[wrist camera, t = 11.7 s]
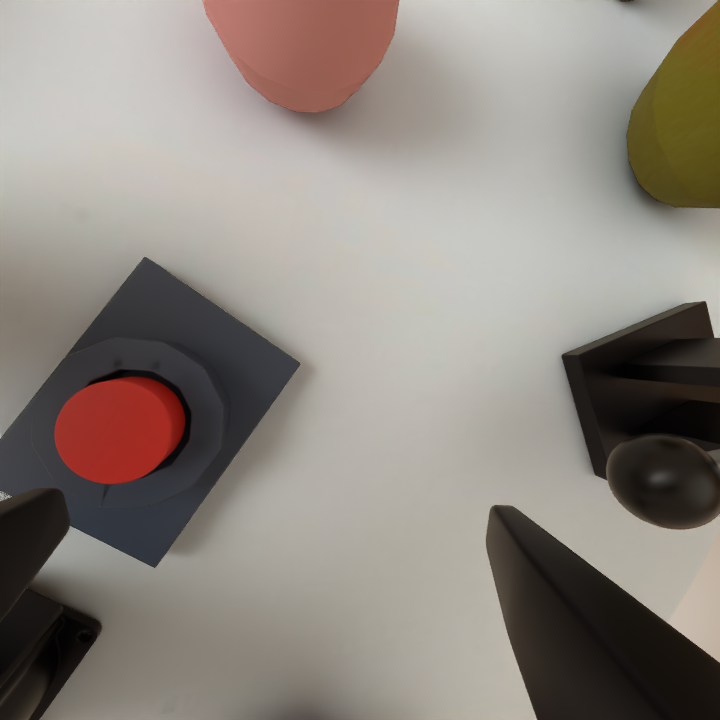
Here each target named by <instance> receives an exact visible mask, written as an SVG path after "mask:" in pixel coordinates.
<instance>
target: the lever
mask: <svg viewBox="0 0 720 720" xmlns="http://www.w3.org/2000/svg"><path fill="white" fill-rule="evenodd" d="M606 475H607V481H608V484H609V487H610V489H611V491H612V493H613V494H614V496H615V497H616V499H617V500H618V501H619V503H620V504H621V505H622V506H623V507H624V508H625V509H627V510H628V511H629V512H630V513H632V514H633V515H635V516H636V517H638V518H639V519H641V520H643V521H645V522H648V523H650V524H653V525H656V526H659V527H663V528H668V529H691V528H696V527H699V526H702V525H705V524H707V523H709V522H710V521H712V520H713V519H715V518H716V517H717V516H718V515H719V514H720V449H718V450H713V451H707V452H705V451H704V450H703V449H701V448H700V447H699V446H697V445H695V444H693V443H692V442H690V441H688V440H685V439H683V438H680V437H677V436H673V435H669V434H663V433H646V434H639V435H635V436H632V437H630V438H628V439H626V440H624V441H622V442H621V443H620V444H618V445H617V446H616V447H615V448H614V450H613V451H612V452H611V454H610V456H609V458H608V461H607V466H606Z"/></svg>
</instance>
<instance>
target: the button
mask: <svg viewBox="0 0 720 720" xmlns="http://www.w3.org/2000/svg"><path fill="white" fill-rule="evenodd" d="M184 429H185V413H184V409H183V406H182V404H181V402H180V400H179V399H178V397H177V396H176V395H175V393H174V392H173V391H172V390H171V389H170V388H168V387H167V386H165V385H164V384H162V383H160V382H158V381H156V380H153V379H150V378H146V377H124V378H119V379H114V380H108V381H103V382H99V383H95V384H92V385H90V386H88V387H86V388H83V389H82V390H80V391H79V392H77V393H76V394H75V395H73V396H72V397H71V398H70V399H69V400H68V401H67V402H66V404H65V405H64V406H63V408H62V409H61V411H60V413H59V415H58V418H57V421H56V424H55V444H56V447H57V451H58V453H59V455H60V457H61V458H62V460H63V461H64V463H65V464H66V465H67V466H68V467H69V468H70V469H71V470H72V471H73V472H75V473H76V474H78V475H79V476H81V477H83V478H85V479H87V480H90V481H93V482H97V483H102V484H121V483H127V482H130V481H134V480H136V479H139V478H141V477H143V476H145V475H146V474H148V473H149V472H151V471H152V470H153V469H155V468H156V467H157V466H158V465H159V464H160V463H161V462H162V461H163V460H164V459H165V458H166V457H167V456H168V455H170V454H171V453H172V452H173V451H174V449H175V448H176V447H177V446H178V444H179V442H180V441H181V438H182V436H183V433H184Z"/></svg>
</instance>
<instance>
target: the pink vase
mask: <svg viewBox="0 0 720 720" xmlns="http://www.w3.org/2000/svg"><path fill="white" fill-rule="evenodd" d="M203 3H204V7H205V11H206V14H207V16H208V18H209V20H210V21H211V23H212V25H213V27H214V28H215V30H216V32H217V34H218V36H219V37H220V39H221V41H222V43H223V44H224V46H225V48H226V50H227V51H228V53H229V55H230V57H231V58H232V60H233V61H234V63H235V64H236V66H237V68H238V69H239V71H240V72H241V74H242V75H243V77H244V78H245V80H246V81H247V83H248V84H250V85H251V86H252V87H253V88H254V89H256V90H257V91H258V92H259V93H260V94H262V95H263V96H264V97H265V98H266V99H268V100H269V101H271V102H273V103H276V104H278V105H281V106H283V107H285V108H288V109H290V110H293V111H302V112H322V111H325V110H328V109H331V108H334V107H337V106H340V105H341V104H343V103H344V102H345V101H346V100H347V99H348V98H349V97H350V96H352V95H353V94H354V93H355V92H356V91H357V90H358V89H359V88H360V87H361V85H362V84H363V83H364V82H365V81H366V80H367V78H368V77H369V76H370V75H371V74H372V72H373V71H374V70H375V69H376V68H377V66H378V65H379V64H380V63H381V61H382V59H383V57H384V55H385V53H386V50H387V48H388V46H389V44H390V42H391V40H392V38H393V36H394V31H395V25H396V18H397V12H398V5H399V0H203Z"/></svg>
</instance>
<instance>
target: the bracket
mask: <svg viewBox="0 0 720 720" xmlns="http://www.w3.org/2000/svg"><path fill="white" fill-rule="evenodd" d="M562 359H563V362H564V366H565V370H566V373H567V377H568V380H569V384H570V387H571V391H572V394H573V398H574V402H575V405H576V409H577V412H578V416H579V419H580V423H581V427H582V430H583V434H584V437H585V441H586V444H587V448H588V451H589V455H590V459H591V462H592V466H593V469H594V473H595V475H596V476H598V477H601V478H603V479H606V480H607V475H606V466H607V461H608V458H609V456H610V454H611V452H612V451H613V450H614V448H615V447H616V446H617V445H618V444H620V443H621V442H622V441H624V440H626V439H628V438H630V437H632V436H635V435H639V434H646V433H663V434H669V435H673V436H677V437H680V438H683V439H685V440H688V441H690V442H692V443H693V444H695V445H697V446H699V447H700V448H701V449H703V450H704V451H705V452H707V451H713V450H718V449H720V338H714V335H713V330H712V326H711V321H710V317H709V313H708V308H707V304H706V302H705V301H702V302H693V303H685V304H682V305H680V306H678V307H675V308H673V309H671V310H668V311H666V312H663V313H661V314H659V315H656V316H654V317H651V318H649V319H647V320H644V321H642V322H639V323H637V324H635V325H632V326H630V327H627V328H625V329H623V330H620V331H618V332H615V333H613V334H611V335H608V336H606V337H604V338H601V339H599V340H596V341H594V342H592V343H589V344H587V345H584V346H582V347H580V348H577V349H575V350H572V351H570V352H568V353H565V354H563V355H562Z"/></svg>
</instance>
